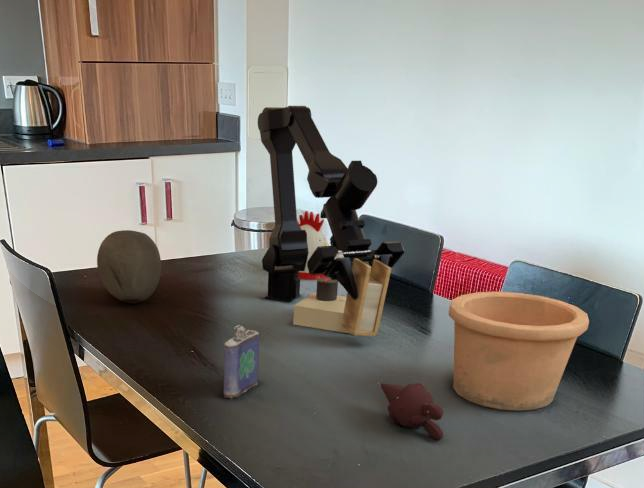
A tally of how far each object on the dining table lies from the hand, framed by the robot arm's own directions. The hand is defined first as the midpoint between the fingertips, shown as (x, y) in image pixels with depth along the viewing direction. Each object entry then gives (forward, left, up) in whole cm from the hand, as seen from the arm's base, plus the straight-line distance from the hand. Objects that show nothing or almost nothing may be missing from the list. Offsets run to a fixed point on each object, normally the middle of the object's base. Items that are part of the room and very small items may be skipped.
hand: (369, 297), depth 148 cm
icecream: (+18, -33, -10) cm, 39 cm away
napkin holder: (-2, +1, -7) cm, 7 cm away
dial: (-13, +14, -5) cm, 20 cm away
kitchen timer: (-31, +49, -10) cm, 59 cm away
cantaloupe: (-55, +4, -10) cm, 56 cm away
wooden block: (-10, +12, -9) cm, 18 cm away
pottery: (+29, -12, -10) cm, 32 cm away
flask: (-11, -32, -10) cm, 35 cm away
